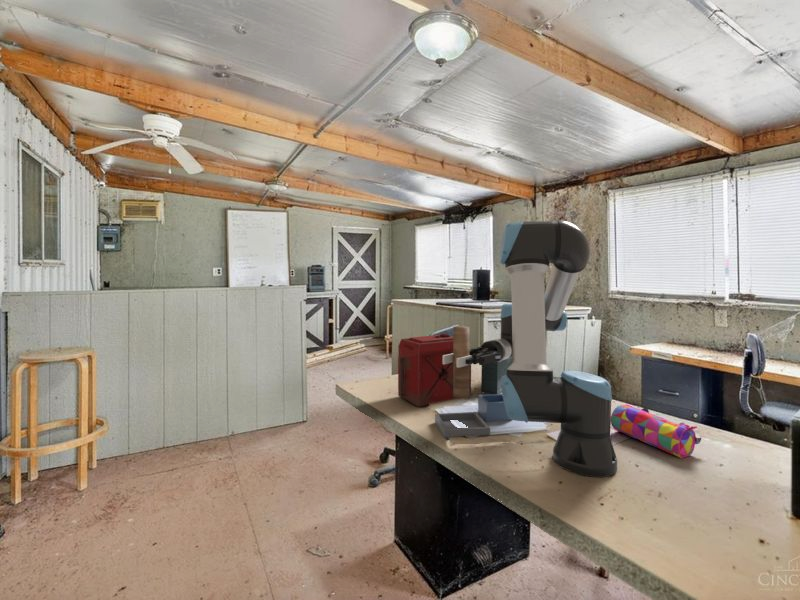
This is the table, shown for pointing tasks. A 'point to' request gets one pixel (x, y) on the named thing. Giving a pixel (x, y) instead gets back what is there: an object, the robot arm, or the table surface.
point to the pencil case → (655, 430)
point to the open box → (492, 407)
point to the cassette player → (494, 376)
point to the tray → (468, 418)
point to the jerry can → (426, 369)
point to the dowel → (460, 350)
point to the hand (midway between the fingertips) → (450, 361)
